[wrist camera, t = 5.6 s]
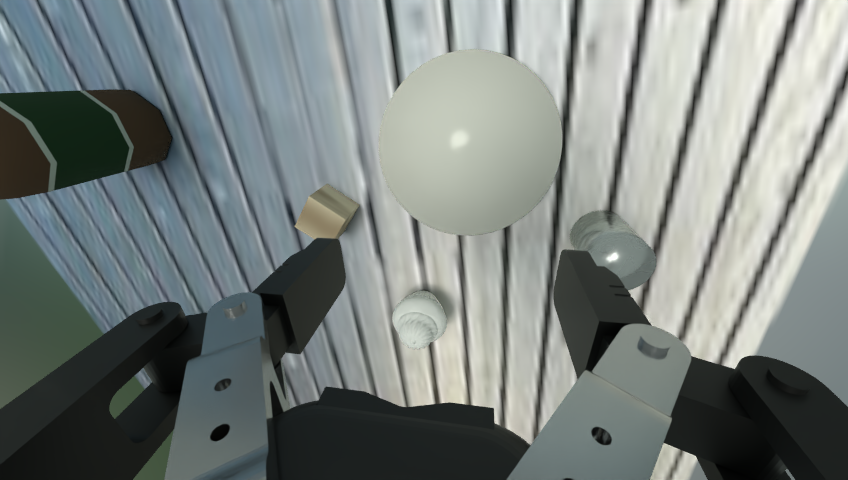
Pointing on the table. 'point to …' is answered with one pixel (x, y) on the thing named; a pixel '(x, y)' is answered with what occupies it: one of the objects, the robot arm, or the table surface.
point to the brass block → (326, 213)
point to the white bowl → (470, 142)
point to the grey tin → (614, 247)
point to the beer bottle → (75, 138)
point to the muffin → (419, 319)
